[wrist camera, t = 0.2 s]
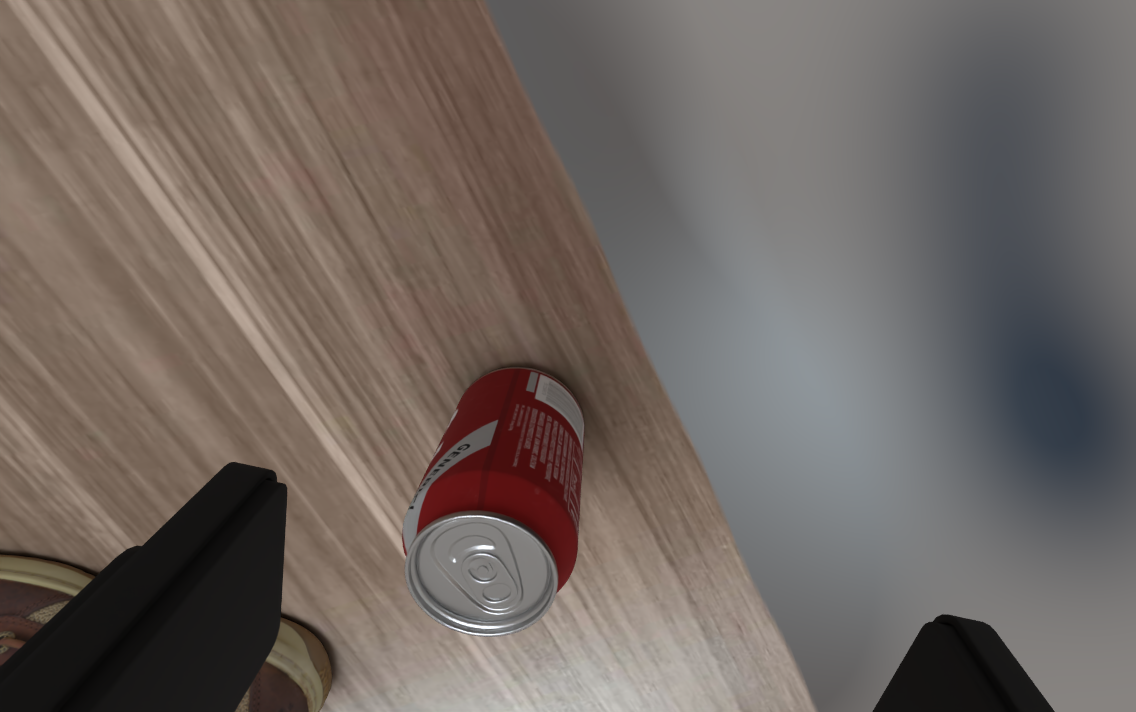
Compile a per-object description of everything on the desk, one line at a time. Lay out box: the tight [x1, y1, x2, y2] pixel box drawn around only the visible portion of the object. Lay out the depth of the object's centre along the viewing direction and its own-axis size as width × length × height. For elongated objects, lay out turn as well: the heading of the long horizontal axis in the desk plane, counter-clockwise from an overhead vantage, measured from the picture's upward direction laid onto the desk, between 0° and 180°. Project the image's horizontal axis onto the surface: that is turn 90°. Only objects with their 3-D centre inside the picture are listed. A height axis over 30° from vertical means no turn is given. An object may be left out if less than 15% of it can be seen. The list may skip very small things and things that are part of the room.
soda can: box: [402, 367, 585, 637], centre depth 28 cm, size 7×7×12 cm
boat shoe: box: [0, 555, 332, 712], centre depth 36 cm, size 30×11×11 cm, turn 79°
